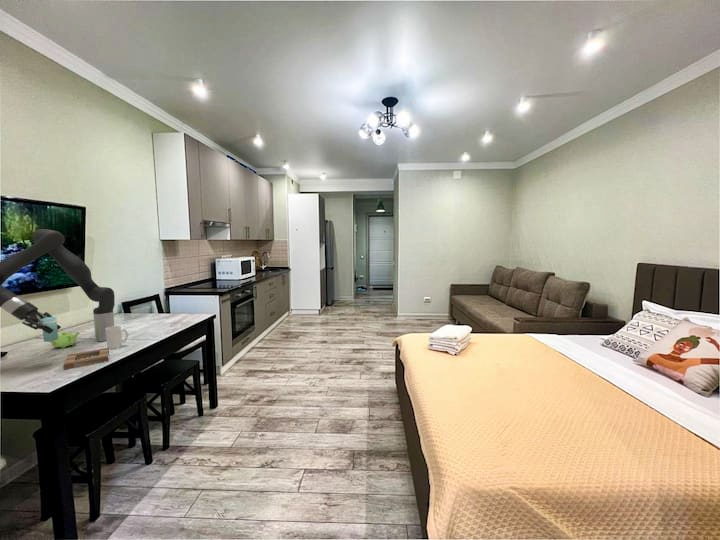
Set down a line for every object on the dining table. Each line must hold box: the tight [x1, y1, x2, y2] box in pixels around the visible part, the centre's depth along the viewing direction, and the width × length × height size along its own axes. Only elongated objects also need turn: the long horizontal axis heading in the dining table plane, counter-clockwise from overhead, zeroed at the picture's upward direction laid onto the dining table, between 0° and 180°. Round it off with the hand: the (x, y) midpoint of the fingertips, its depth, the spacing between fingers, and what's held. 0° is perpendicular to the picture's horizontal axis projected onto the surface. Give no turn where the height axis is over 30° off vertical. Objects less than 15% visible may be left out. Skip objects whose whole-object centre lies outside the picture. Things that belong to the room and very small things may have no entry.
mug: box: [106, 325, 129, 350], centre depth 164 cm, size 10×7×12 cm, turn 114°
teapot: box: [49, 331, 80, 349], centre depth 164 cm, size 11×12×8 cm
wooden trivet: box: [62, 347, 110, 371], centre depth 146 cm, size 16×16×2 cm
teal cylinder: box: [42, 316, 59, 343], centre depth 138 cm, size 5×5×11 cm
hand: (55, 330), depth 138 cm, fingers closed on teal cylinder, 4 cm apart
